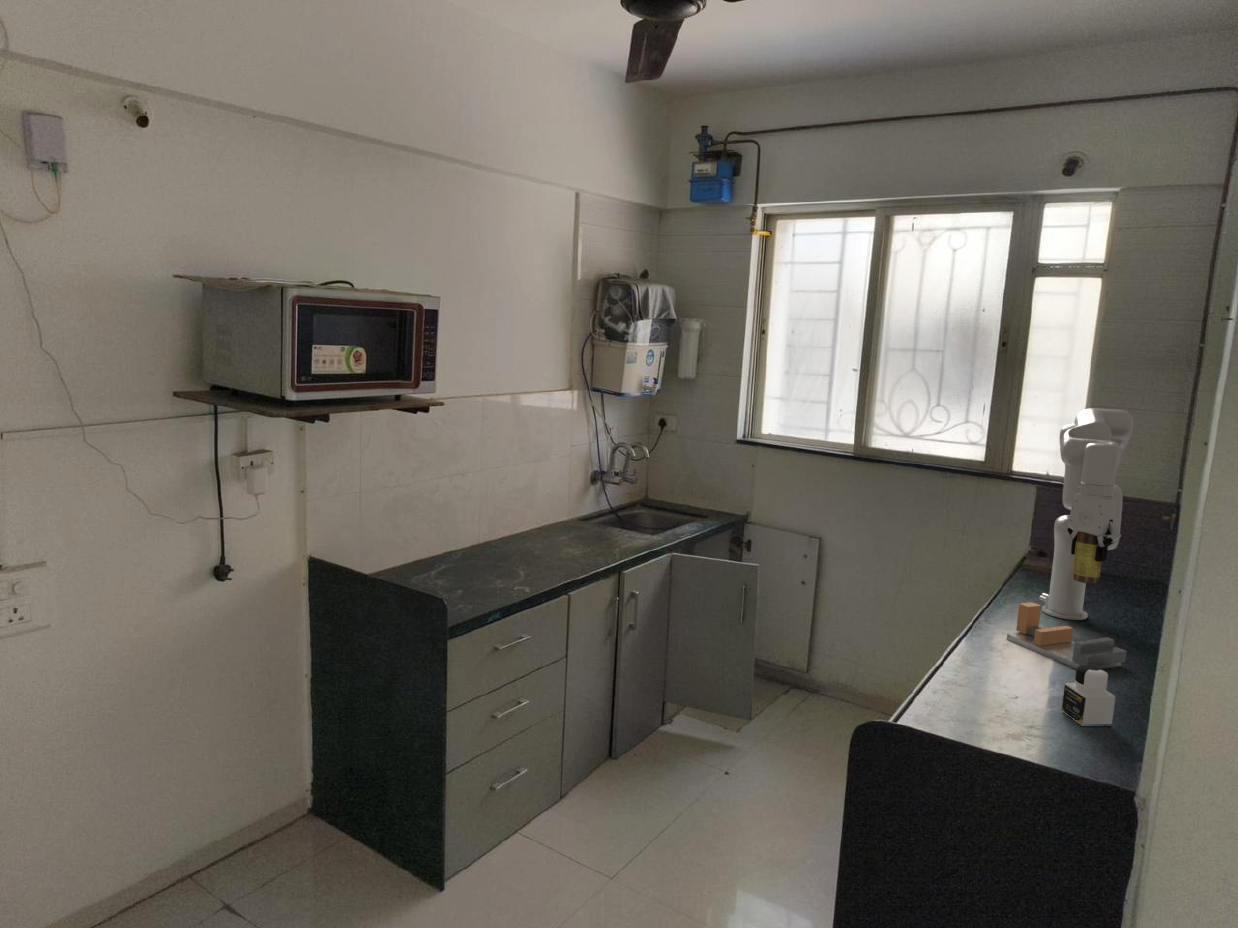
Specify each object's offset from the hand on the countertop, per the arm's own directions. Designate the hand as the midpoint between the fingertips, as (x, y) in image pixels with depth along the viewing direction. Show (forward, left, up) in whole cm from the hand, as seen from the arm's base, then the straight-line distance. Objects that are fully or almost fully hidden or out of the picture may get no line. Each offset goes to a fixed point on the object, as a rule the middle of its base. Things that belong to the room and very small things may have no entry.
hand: (1088, 556), depth 208 cm
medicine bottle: (+28, -31, -28) cm, 50 cm away
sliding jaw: (-12, 0, -26) cm, 29 cm away
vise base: (-4, 0, -28) cm, 28 cm away
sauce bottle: (0, 0, -7) cm, 7 cm away
